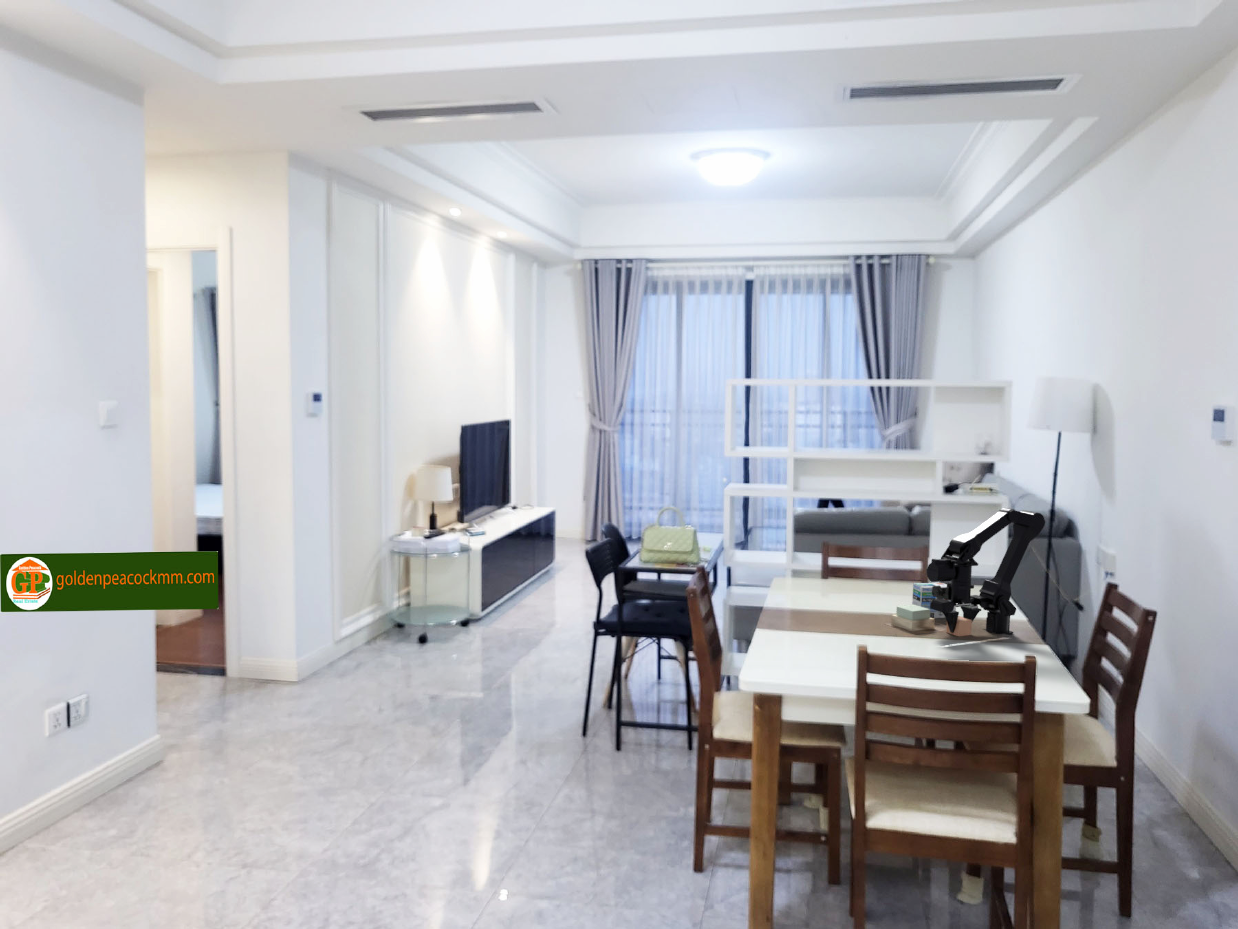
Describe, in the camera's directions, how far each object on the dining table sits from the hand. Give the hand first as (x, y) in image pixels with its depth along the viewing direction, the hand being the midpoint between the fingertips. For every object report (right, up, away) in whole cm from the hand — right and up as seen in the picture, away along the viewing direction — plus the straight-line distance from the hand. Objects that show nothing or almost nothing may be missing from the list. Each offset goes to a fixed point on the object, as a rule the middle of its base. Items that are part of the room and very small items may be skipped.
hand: (958, 631), depth 290 cm
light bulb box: (-1, 0, +23) cm, 23 cm away
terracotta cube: (0, -1, 0) cm, 1 cm away
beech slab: (-11, 0, +8) cm, 14 cm away
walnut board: (-9, 0, +8) cm, 12 cm away
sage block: (-11, +3, +8) cm, 14 cm away
